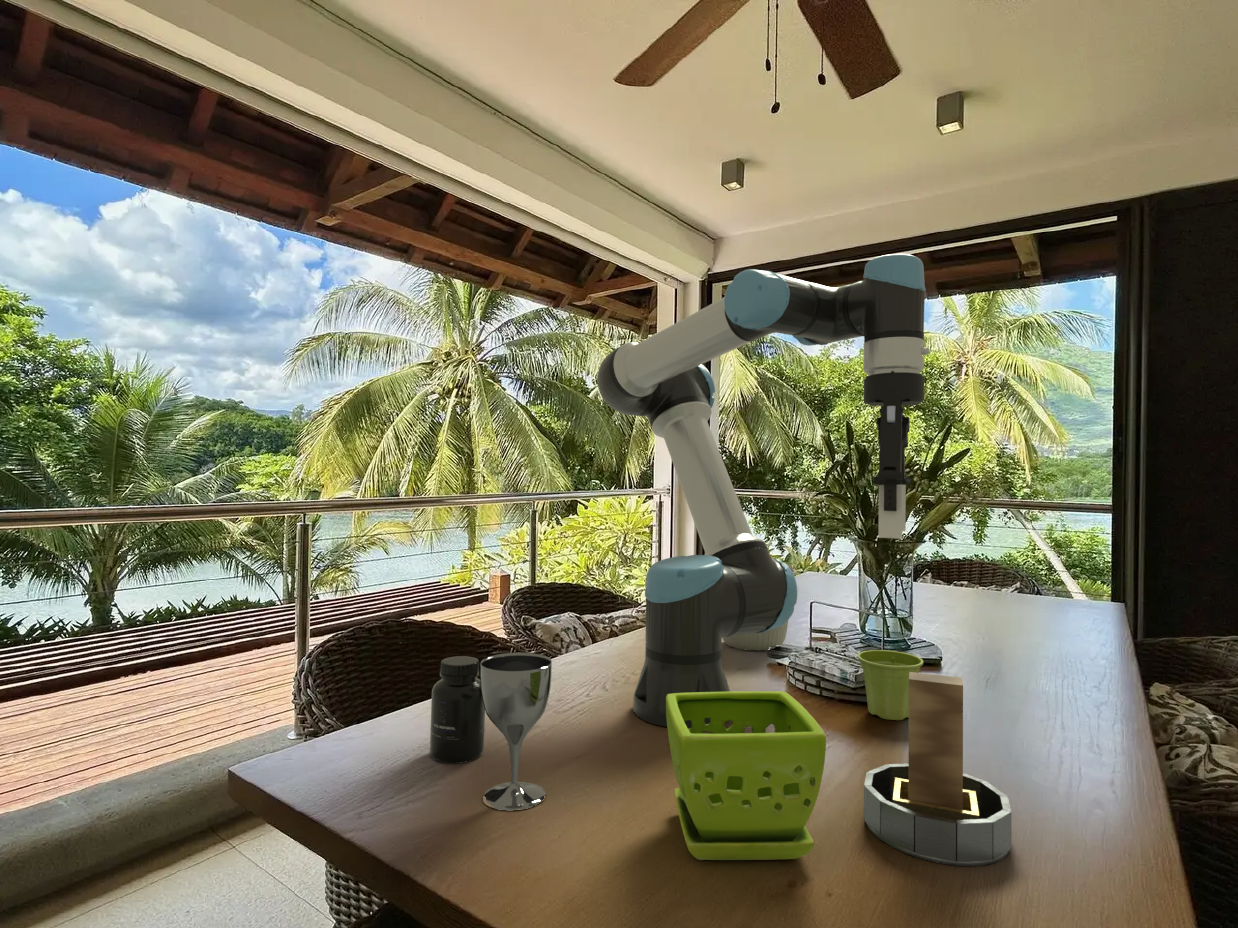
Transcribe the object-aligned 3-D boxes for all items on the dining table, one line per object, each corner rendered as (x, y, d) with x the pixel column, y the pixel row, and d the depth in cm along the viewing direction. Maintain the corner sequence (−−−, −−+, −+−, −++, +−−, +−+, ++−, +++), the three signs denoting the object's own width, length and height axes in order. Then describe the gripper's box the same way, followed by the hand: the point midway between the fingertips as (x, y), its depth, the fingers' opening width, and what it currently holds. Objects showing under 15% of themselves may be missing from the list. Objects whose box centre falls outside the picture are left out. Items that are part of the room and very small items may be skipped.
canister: (696, 638, 156) (697, 543, 156) (769, 634, 161) (769, 542, 162) (733, 659, 139) (734, 552, 139) (813, 653, 144) (814, 550, 144)
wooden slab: (908, 826, 71) (908, 678, 72) (908, 813, 74) (909, 671, 74) (962, 837, 69) (963, 685, 70) (961, 823, 72) (961, 677, 72)
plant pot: (929, 727, 102) (929, 667, 102) (861, 722, 104) (861, 663, 104) (915, 706, 111) (915, 651, 111) (853, 702, 113) (853, 648, 113)
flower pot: (788, 804, 77) (789, 688, 77) (830, 876, 63) (831, 735, 63) (661, 804, 77) (663, 688, 77) (676, 877, 63) (678, 735, 63)
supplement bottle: (430, 767, 86) (431, 668, 86) (429, 746, 92) (431, 655, 93) (486, 761, 88) (488, 665, 88) (482, 741, 94) (483, 652, 94)
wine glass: (516, 774, 84) (518, 649, 84) (564, 794, 79) (566, 660, 79) (463, 797, 78) (465, 662, 78) (511, 820, 73) (513, 675, 73)
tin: (859, 846, 68) (859, 805, 68) (869, 790, 81) (870, 755, 81) (1017, 880, 63) (1017, 835, 63) (1002, 814, 75) (1002, 777, 75)
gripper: (923, 357, 80) (923, 543, 80) (924, 385, 103) (924, 529, 103) (855, 361, 83) (854, 539, 83) (870, 387, 106) (869, 527, 106)
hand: (892, 534), depth 93 cm, fingers open, 13 cm apart
